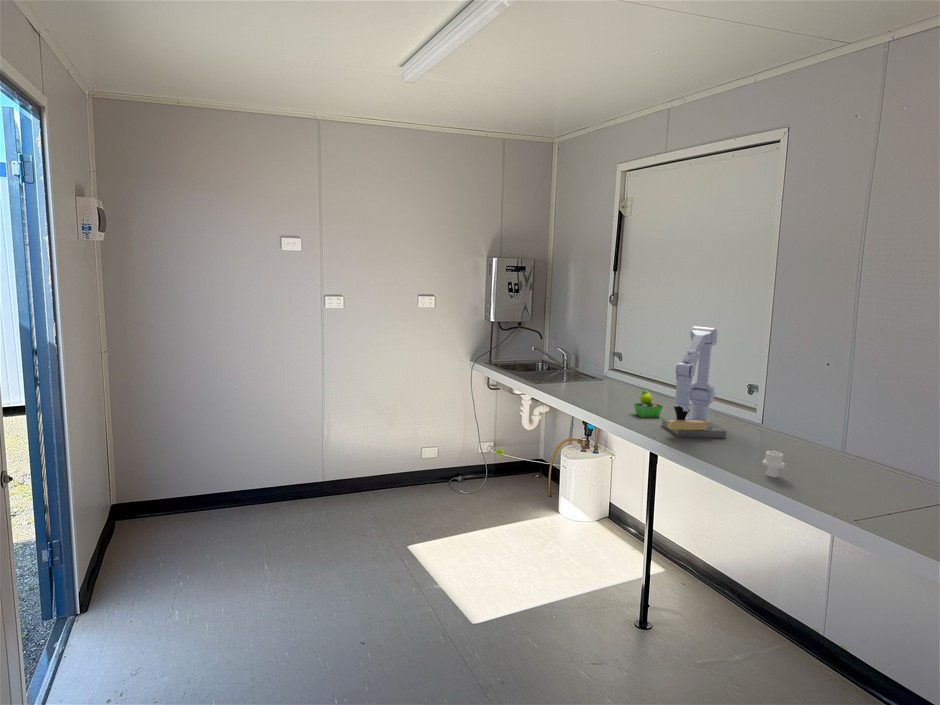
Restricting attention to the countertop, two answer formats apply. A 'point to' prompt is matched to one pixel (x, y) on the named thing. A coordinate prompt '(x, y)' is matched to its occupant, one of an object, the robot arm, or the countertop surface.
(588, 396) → the countertop surface
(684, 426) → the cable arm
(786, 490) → the countertop surface
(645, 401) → the fruit basket
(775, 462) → the pipe fitting
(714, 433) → the plate
